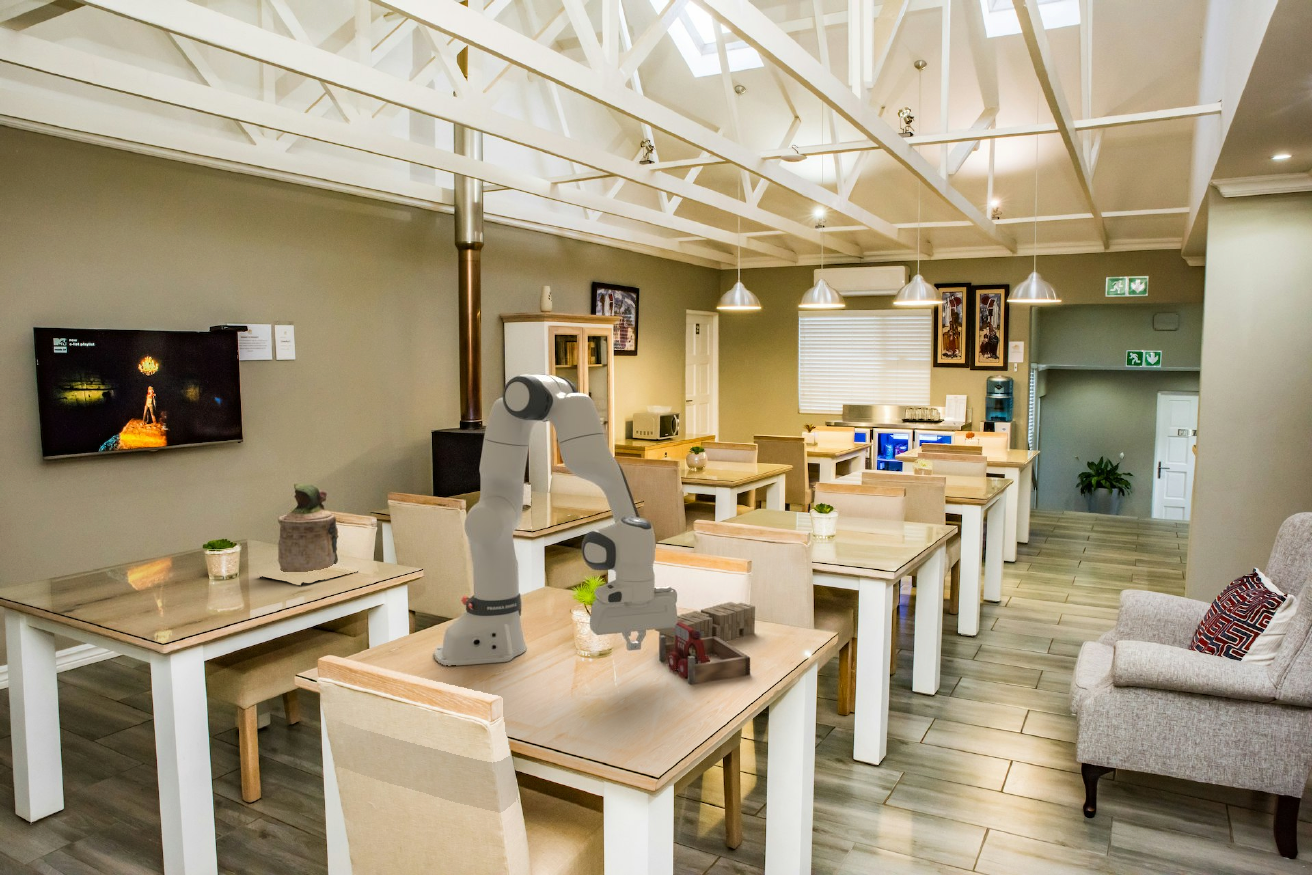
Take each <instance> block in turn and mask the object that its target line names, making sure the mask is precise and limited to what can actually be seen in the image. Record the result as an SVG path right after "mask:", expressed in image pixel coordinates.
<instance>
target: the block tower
mask: <svg viewBox="0 0 1312 875" xmlns="http://www.w3.org/2000/svg"><path fill="white" fill-rule="evenodd" d="M755 620H756V606H755V605H753V604H747V603H744V602H738V603H737V602H736V603H735V602H734V601H728V602H724V603H720V604H716V605H713V606H709V607H706V608H702V609H700V611H698V610H694V611H692V612H687V613H682V614H680V615H677V623H680V622H681V623H683V624H685V625H687V626H689V627H691V628H692V629H694V630H698V631H699V632H700V633H701V637H700V638H705V637H712V636H716V637H718V638H719V639H721V640H723V641H724V642H726V643H727V642H731V641H734V640H737V639H740V637H747V636H751V635H754V634H755V629H756V628H755V626H756V621H755ZM654 631H656V632H657V633H658V634H659V636H663V635H664V636H665V637H666V643H671V642H675V637H676V635H675V627H673V628H663V629H654ZM659 636H658V637H659Z"/></svg>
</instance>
